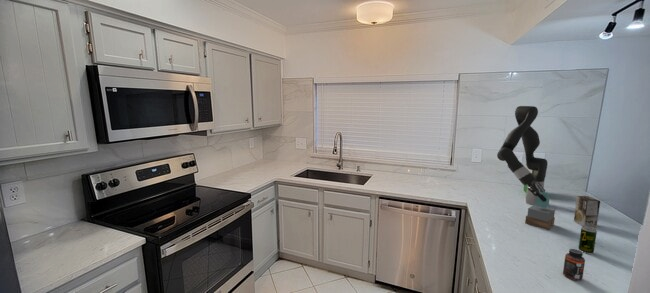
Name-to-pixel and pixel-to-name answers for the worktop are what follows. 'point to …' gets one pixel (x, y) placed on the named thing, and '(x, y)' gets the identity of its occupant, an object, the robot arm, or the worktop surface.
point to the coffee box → (586, 211)
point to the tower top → (541, 213)
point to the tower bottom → (539, 223)
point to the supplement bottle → (574, 265)
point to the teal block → (540, 202)
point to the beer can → (587, 239)
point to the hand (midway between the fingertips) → (546, 199)
